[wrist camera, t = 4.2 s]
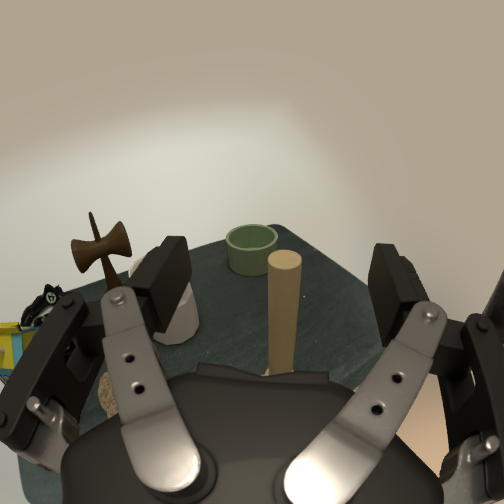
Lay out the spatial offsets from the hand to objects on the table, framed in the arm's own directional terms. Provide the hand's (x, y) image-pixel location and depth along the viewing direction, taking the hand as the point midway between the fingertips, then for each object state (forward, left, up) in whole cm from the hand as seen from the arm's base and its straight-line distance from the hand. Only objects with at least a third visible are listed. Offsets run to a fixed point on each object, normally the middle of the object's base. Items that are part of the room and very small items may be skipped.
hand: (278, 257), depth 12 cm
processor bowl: (+14, -37, -28) cm, 48 cm away
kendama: (+32, -16, -28) cm, 45 cm away
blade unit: (+2, -11, -28) cm, 30 cm away
